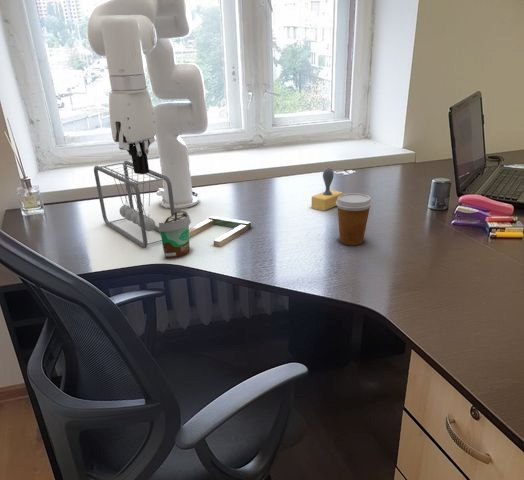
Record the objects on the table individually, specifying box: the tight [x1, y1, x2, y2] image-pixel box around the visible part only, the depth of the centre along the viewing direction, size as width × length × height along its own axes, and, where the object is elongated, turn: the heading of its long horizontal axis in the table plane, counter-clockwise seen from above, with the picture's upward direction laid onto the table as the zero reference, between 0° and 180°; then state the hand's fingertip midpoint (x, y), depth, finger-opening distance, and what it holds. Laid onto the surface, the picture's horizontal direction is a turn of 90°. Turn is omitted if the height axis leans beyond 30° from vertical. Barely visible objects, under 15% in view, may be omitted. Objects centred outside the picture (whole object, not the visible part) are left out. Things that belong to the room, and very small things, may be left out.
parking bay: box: [189, 215, 252, 248], centre depth 154 cm, size 14×17×2 cm
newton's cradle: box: [93, 160, 174, 248], centre depth 153 cm, size 30×10×18 cm, turn 36°
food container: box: [158, 209, 192, 260], centre depth 140 cm, size 12×6×10 cm, turn 168°
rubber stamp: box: [311, 167, 344, 212], centre depth 170 cm, size 10×6×12 cm, turn 137°
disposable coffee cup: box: [336, 192, 373, 246], centre depth 142 cm, size 10×10×12 cm
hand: (141, 172), depth 121 cm, fingers closed
